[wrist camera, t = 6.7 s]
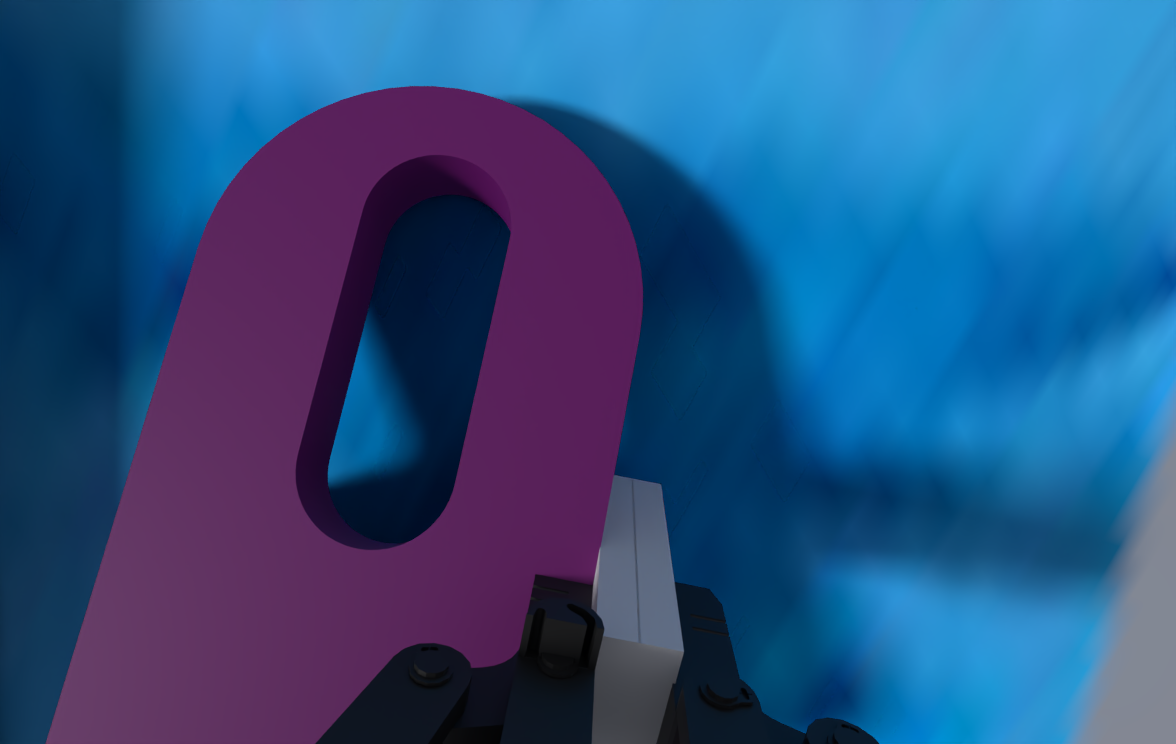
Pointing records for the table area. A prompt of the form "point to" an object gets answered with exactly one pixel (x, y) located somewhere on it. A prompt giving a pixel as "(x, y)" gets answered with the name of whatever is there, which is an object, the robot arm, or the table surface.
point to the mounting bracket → (311, 417)
